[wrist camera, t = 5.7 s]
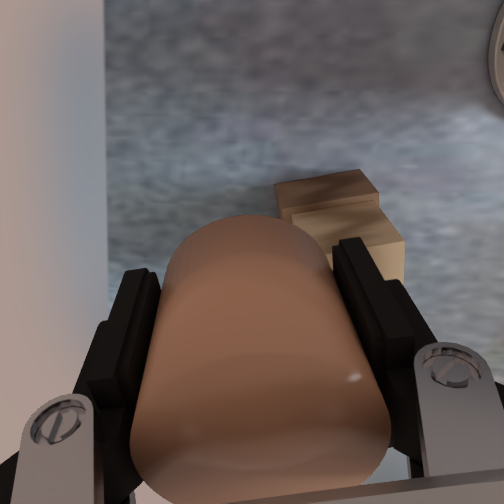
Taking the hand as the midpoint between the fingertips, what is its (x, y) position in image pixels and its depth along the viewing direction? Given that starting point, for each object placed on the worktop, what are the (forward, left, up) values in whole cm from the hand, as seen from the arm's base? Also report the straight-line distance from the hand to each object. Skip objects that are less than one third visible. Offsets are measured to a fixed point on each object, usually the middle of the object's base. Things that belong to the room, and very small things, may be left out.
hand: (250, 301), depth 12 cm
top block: (-6, +10, -18) cm, 22 cm away
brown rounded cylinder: (0, 0, 0) cm, 0 cm away
